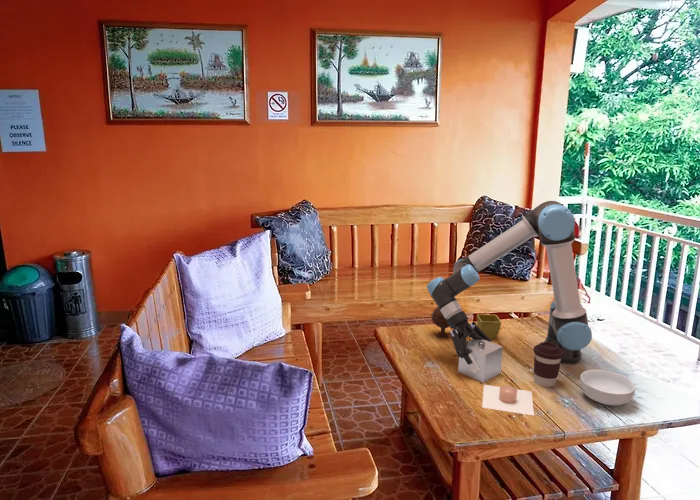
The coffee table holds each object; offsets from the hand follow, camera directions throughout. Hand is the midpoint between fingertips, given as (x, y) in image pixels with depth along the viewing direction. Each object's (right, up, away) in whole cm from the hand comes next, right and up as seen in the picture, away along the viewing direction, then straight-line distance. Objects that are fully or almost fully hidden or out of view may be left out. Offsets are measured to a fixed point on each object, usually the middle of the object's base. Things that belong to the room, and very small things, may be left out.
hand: (486, 366), depth 189 cm
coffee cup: (+20, -6, -3) cm, 21 cm away
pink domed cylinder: (+3, -7, -16) cm, 18 cm away
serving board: (+3, -8, -16) cm, 18 cm away
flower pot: (+10, +4, +38) cm, 40 cm away
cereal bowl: (+37, -8, -13) cm, 40 cm away
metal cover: (-2, -3, +3) cm, 5 cm away
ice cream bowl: (-9, +5, +38) cm, 40 cm away
